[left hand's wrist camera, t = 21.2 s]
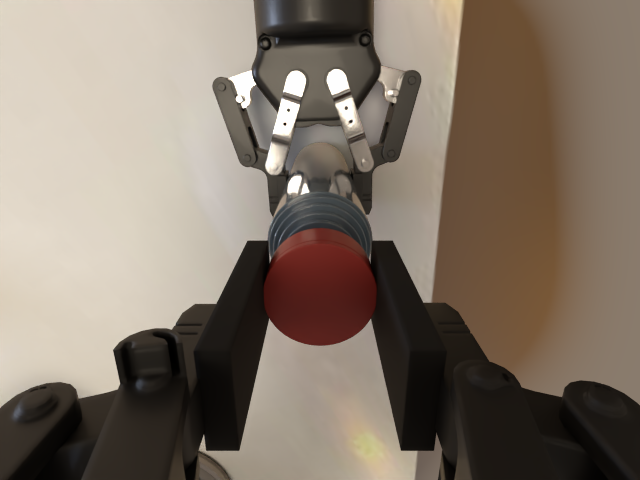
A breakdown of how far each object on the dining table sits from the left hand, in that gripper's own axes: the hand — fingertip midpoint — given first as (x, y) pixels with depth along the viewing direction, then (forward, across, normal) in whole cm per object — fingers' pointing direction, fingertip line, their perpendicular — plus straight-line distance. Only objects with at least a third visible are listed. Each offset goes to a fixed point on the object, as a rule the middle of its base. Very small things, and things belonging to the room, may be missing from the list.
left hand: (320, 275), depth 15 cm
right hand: (+15, 0, -3) cm, 16 cm away
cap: (-1, 0, 0) cm, 1 cm away
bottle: (+22, 0, 0) cm, 22 cm away
